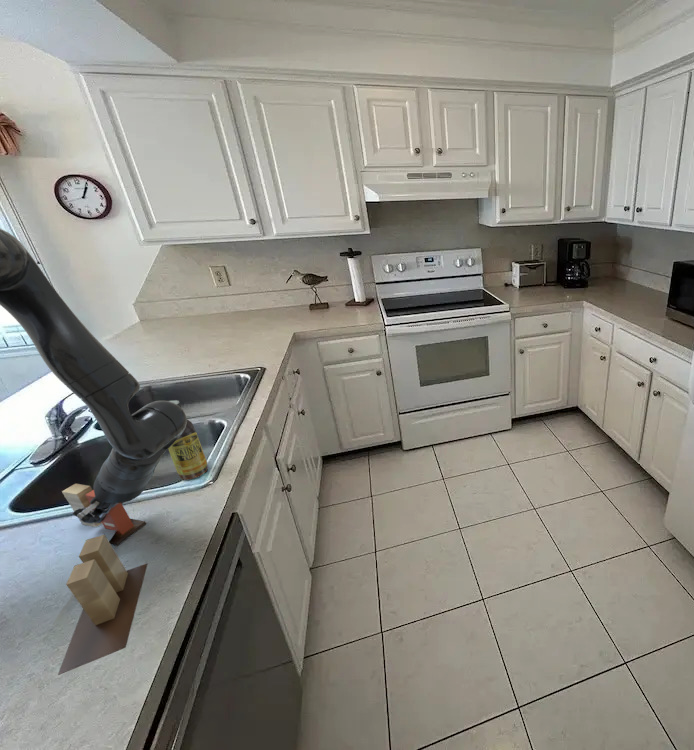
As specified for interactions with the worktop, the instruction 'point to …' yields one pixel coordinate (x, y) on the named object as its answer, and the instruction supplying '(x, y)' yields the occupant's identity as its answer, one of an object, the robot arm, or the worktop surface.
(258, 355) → the worktop surface
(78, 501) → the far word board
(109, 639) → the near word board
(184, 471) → the sauce bottle
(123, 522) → the orange brick
